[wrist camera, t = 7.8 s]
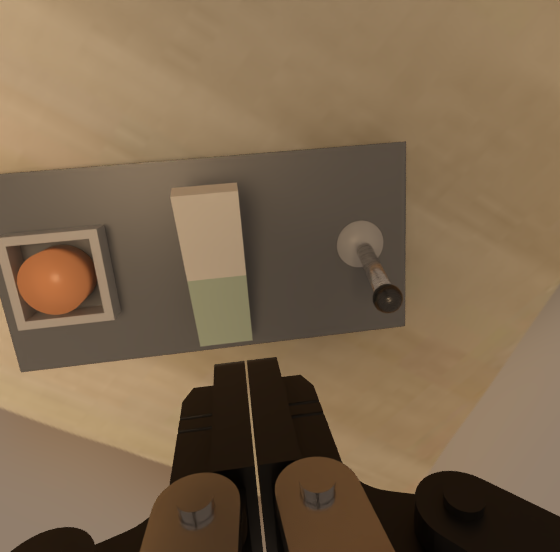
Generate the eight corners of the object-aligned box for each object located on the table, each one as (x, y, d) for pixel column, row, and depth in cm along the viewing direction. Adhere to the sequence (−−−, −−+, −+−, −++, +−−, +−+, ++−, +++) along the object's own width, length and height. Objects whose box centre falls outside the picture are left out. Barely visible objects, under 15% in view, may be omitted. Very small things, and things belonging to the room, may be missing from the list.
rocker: (171, 187, 21) (170, 196, 20) (236, 182, 21) (238, 190, 20) (200, 335, 27) (200, 346, 26) (251, 329, 27) (252, 340, 26)
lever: (351, 236, 26) (379, 299, 22) (376, 233, 26) (409, 296, 22) (348, 256, 27) (375, 321, 23) (373, 254, 27) (404, 317, 23)
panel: (-13, 175, 25) (-51, 178, 22) (393, 142, 27) (417, 140, 24) (34, 357, 29) (8, 385, 25) (394, 315, 31) (414, 335, 27)
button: (26, 247, 25) (9, 255, 23) (90, 241, 25) (79, 248, 23) (40, 306, 26) (25, 318, 24) (102, 299, 26) (92, 310, 24)
